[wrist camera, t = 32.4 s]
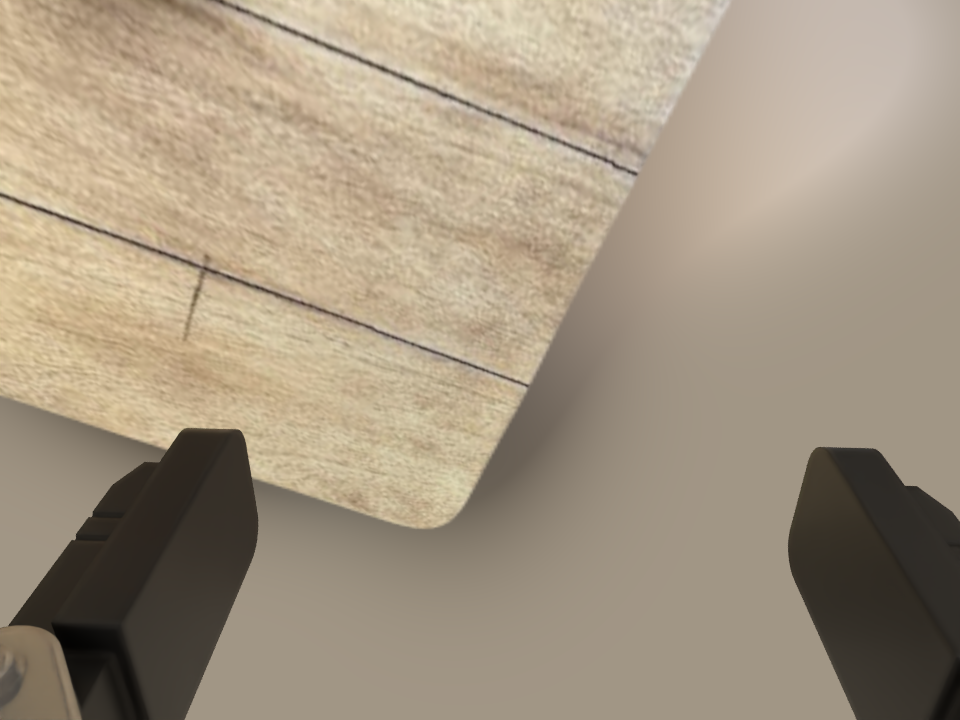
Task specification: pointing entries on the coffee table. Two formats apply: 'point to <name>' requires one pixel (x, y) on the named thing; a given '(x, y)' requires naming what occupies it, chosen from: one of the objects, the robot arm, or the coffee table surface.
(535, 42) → the coffee table surface
